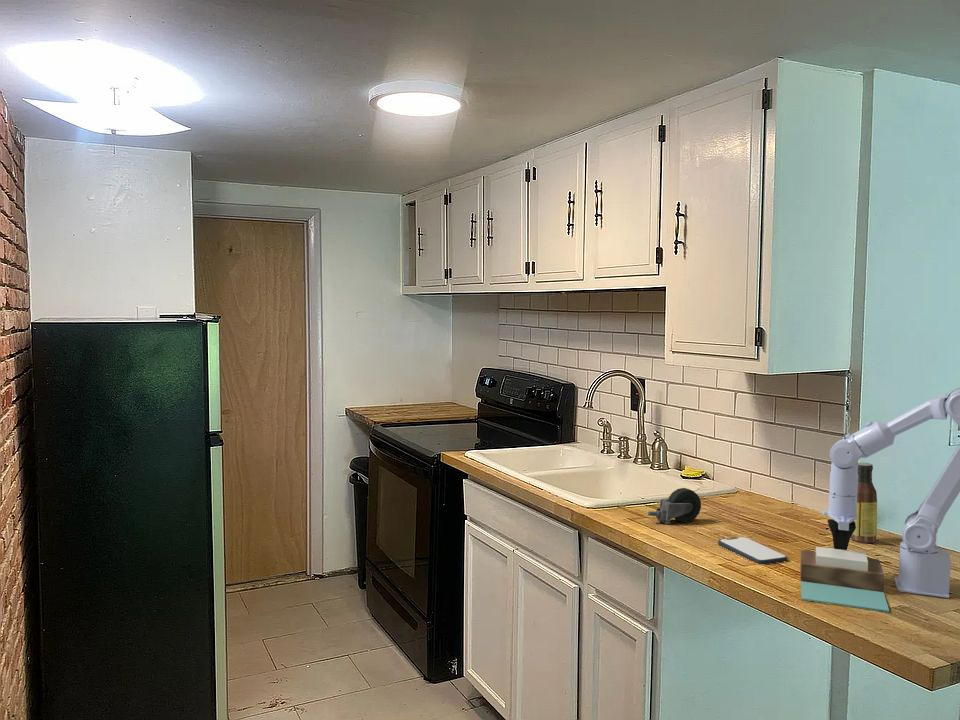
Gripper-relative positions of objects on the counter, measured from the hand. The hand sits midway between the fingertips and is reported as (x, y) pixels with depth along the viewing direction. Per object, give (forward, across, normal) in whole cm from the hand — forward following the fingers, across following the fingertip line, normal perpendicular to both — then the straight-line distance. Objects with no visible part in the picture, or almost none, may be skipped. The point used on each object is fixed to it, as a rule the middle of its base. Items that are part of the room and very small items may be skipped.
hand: (840, 553), depth 175 cm
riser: (+5, +4, 0) cm, 6 cm away
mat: (+5, +14, 0) cm, 15 cm away
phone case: (+5, -8, -19) cm, 21 cm away
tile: (+1, +4, 0) cm, 5 cm away
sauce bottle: (+5, -30, +7) cm, 31 cm away
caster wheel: (+5, -27, -40) cm, 49 cm away
